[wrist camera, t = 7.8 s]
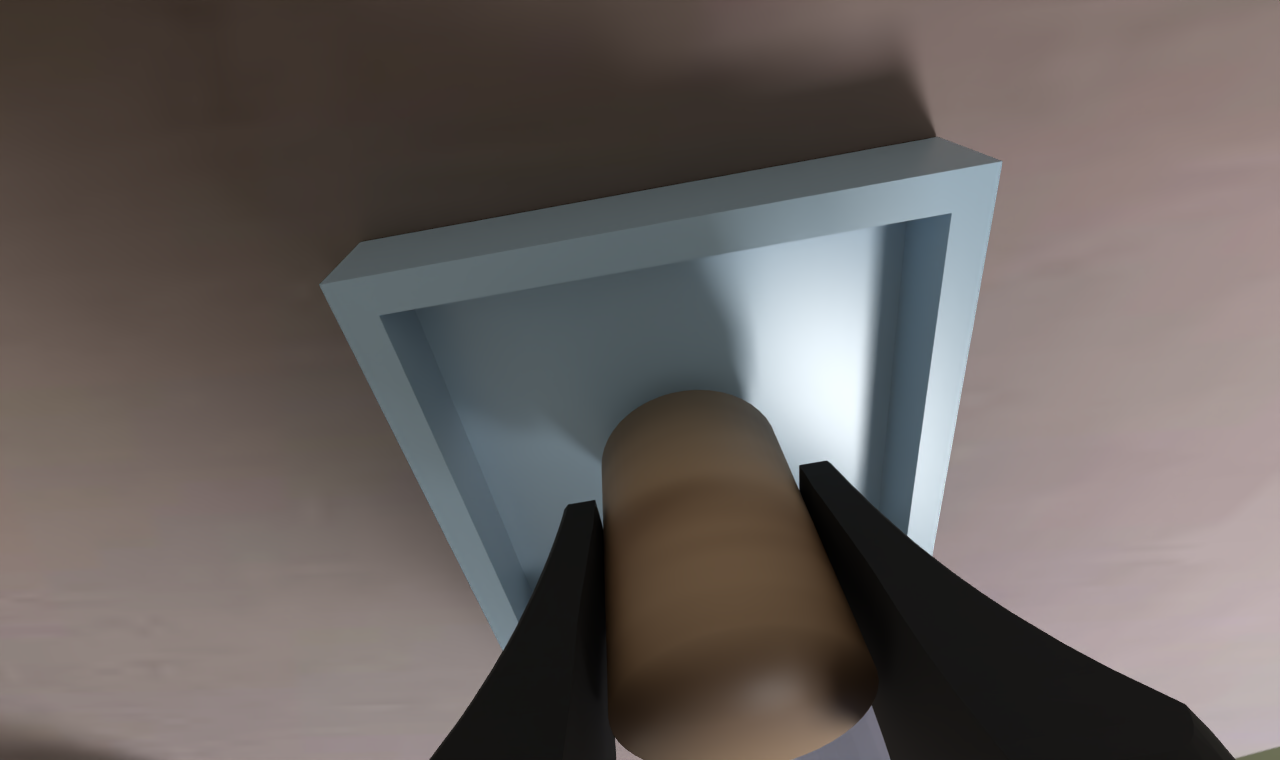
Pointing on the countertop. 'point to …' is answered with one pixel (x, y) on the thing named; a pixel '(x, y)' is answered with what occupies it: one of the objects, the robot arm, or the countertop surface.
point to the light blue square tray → (676, 338)
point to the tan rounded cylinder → (720, 592)
